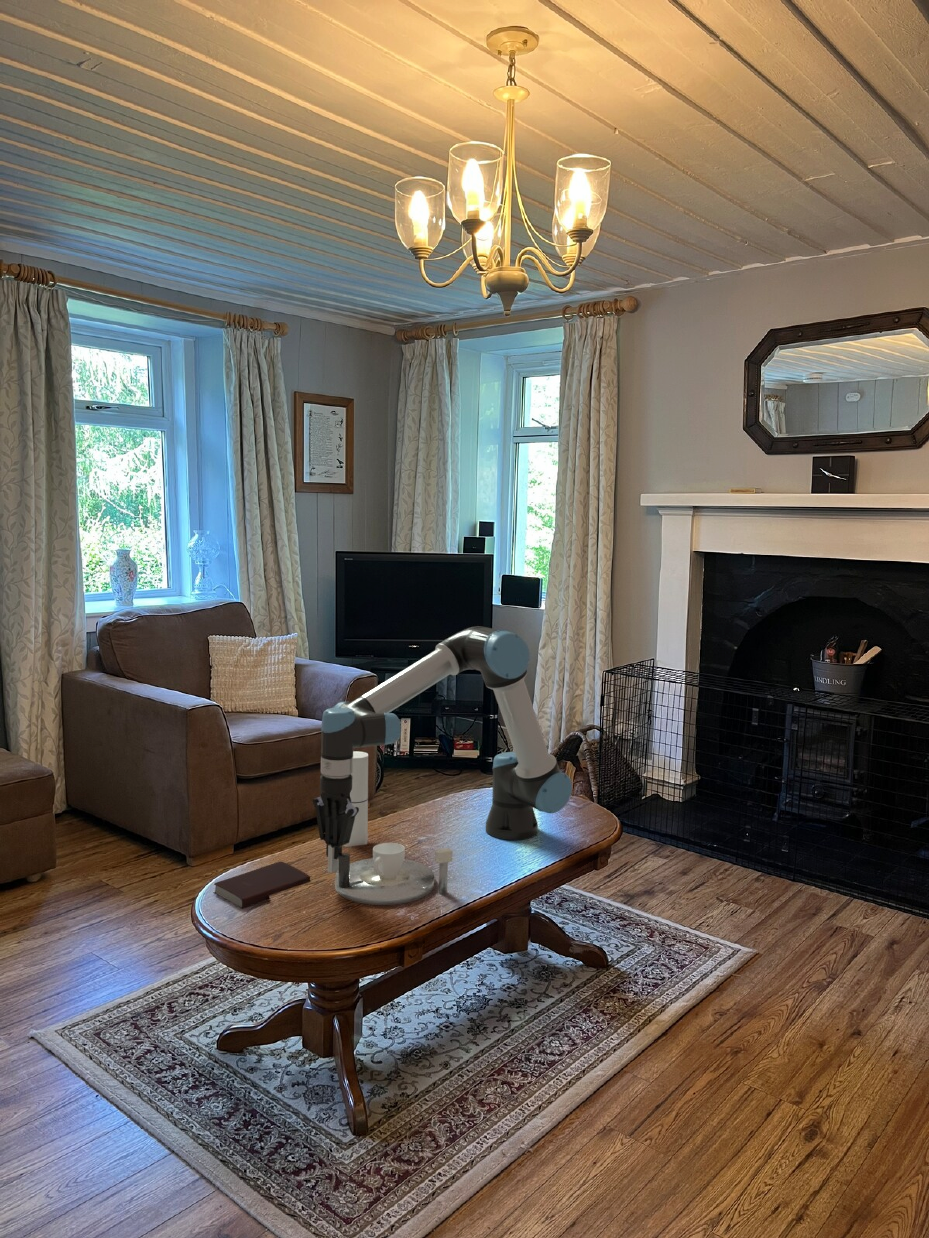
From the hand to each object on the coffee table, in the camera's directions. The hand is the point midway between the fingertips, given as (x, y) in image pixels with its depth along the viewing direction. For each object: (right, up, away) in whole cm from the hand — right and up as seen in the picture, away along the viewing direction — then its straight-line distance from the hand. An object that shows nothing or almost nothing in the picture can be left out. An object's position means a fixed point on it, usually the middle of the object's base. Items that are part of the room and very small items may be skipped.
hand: (333, 870), depth 212 cm
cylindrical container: (+1, -2, +35) cm, 35 cm away
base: (+12, -6, +5) cm, 14 cm away
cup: (+12, -3, +4) cm, 13 cm away
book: (-18, -6, +3) cm, 19 cm away
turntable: (+12, -4, +4) cm, 13 cm away
